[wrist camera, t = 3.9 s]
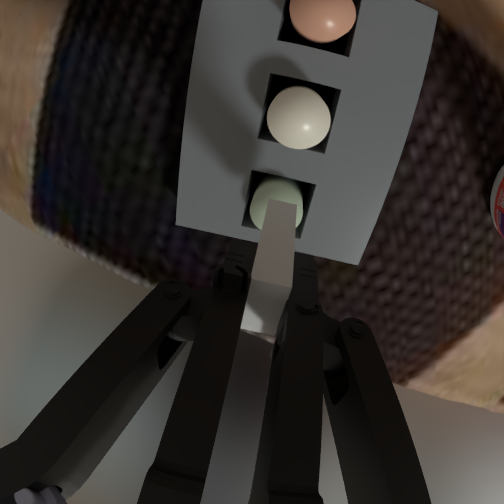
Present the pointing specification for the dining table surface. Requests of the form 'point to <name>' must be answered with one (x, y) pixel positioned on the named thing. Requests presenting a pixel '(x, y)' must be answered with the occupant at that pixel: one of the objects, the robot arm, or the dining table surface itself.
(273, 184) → the sage button
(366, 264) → the dining table surface
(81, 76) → the dining table surface
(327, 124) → the cream button
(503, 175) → the pill bottle
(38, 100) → the dining table surface
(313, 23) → the terracotta button
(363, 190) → the panel
